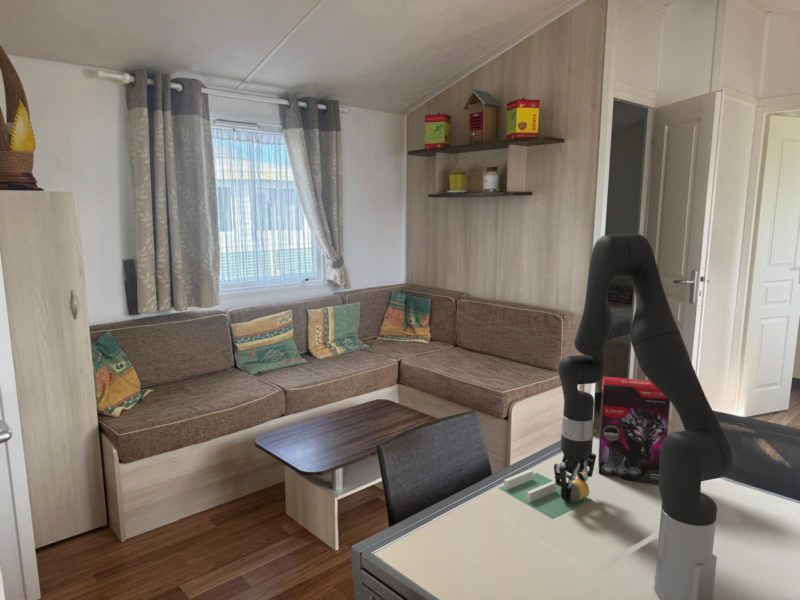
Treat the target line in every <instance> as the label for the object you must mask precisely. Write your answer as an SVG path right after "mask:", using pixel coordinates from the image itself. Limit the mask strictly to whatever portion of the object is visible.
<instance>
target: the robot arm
mask: <svg viewBox="0 0 800 600" xmlns="http://www.w3.org/2000/svg"><path fill="white" fill-rule="evenodd" d="M615 278H617V279H618V278H628V279H629V280H630V282H631V284H632V287H633V290H634V293H635V299H636V300H635V301H636V304H635V305H636V306H635V309H634V310H635V311H634V315H633V319H632V322H631V327H630V337H629V338H630V342H631V346H632V348H633V352H634V355H635V358H636V360H637V363H638V365H639V368H640V369H641V371H642V373H643V374H644V375H645V377H646V378H647V379H648V381H651V382H652V383H653V384H654V385H655V386H656V387H657V388H658V389H659V390H660V391H661V392H662V393H663V394H664V395H665V396H666V397H667V398H668V399H669V400H670V403H671V404H672V406H673V407H674V409H675V411H676V412H677V414H678V416H679V419H680V421H681V423H682V425H683V429H684V430H681V431H680V430H679V431H674V432H671V433H667V436H666V437H665V438H664V440H663V442H662V445H661V449H660V461H659V484H658V491H659V495H660V498H661V509H660V518H659V519H660V520H659V521H660V522H659V529H658V531H659V532H658V540H657V553H656V566H655V575H654V586H653V587H654V591H655V594H656V595H657V596H658V598H660V599H661V600H713V598H714V588H715V587H714V585H715V580H716V570H717V569H716V568H717V560H718V558H717V555H715V554H713V552H714V543H715V534H716V533H715V532H716V523H717V516H718V506H717V503H716V502H715V501H714V499H712V498H711V497H710V496H709V495H707V494H705V493H703V492H702V489H701V488H702V487H701V486H702V482H705V481H710V480H715V479H721V478H724V477H726V476H728V475H729V474H730V473H731V471H732V469H733V465H734V455H733V451H732V448H731V445H730V443H729V440H728V438H727V436H726V434H725V431H724V429H723V428H722V426H721V424H720V421H719V420H718V419H717V416H716V414H715V412H714V410H713V409H712V407H711V405H710V402H709V401H708V399H707V396H706V394H705V391H704V390H703V387H702V385H701V383H700V380H699V377H698V375H697V373H696V370H695V369H694V366H693V364H692V361H691V358H690V355H689V352H688V349H687V346H686V343H685V342H684V339H683V337H682V334H681V332H680V329H679V327H678V325H677V323H676V320H675V317H674V315H673V312H672V309H671V306H670V303H669V301H668V298H667V295H666V292H665V290H664V287H663V282H662V279H661V276H660V272H659V268H658V264H657V261H656V257H655V254H654V250H653V248H652V246H651V244H650V241H648V239H647V238H646V237H645V236H644V235H642V234H640V233H615V234H612V233H611V234H605V235H602V236H601V237H599V238H598V239H597V240H596V242H595V243H594V246H593V248H592V251H591V255H590V263H589V269H588V276H587V282H586V283H587V284H586V293H585V300H584V307H583V311H582V315H581V320H580V323H579V325H578V328H577V332H576V335H575V338H574V347H575V349H576V351H578V352H579V353H580V354H579V355H577V354H576V355H566V356H564V357H562V359H561V360H560V361H559V364H558V369H557V370H558V375H559V376H558V377H559V381H560V384H561V390H562V393H563V401H564V402H563V415H562V421H561V433H560V450H561V452H562V454H563V456H562V459H561V462H560V463H559V464H558V463H554V464H553V470H554V472H553V473H554V482H556V485H558V486H560V487H562V490H561V498H562V499H563V500H564V501H566V502H569V501H570V496H571V485H572V482H573V480H575V479H582V480H584V481H585V482H586V483H587V481H588V480H589V478H591V477H592V476H593V473H594V469H595V464H596V459H597V455H596V454H595V453H593V443H594V442H593V440H594V439H593V438H594V428H595V427H594V409H595V408H594V407H595V399H594V396H593V395H592V394H591V393H589V392H587V391H582V390H579V389H578V385H587V384H588V385H591V384H596V383H598V382H599V381H601V380H602V379H603V377H604V375H605V356H606V347H607V344H608V340H609V338H610V336H611V333H612V329H613V323H614V322H613V321H614V319H613V313H612V310H611V307H610V304H609V301H608V291H609V288H610V286H611V283H612V282H613V279H615ZM581 354H582V355H581ZM588 468H589V469H588ZM567 479H568V480H567Z"/></svg>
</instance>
